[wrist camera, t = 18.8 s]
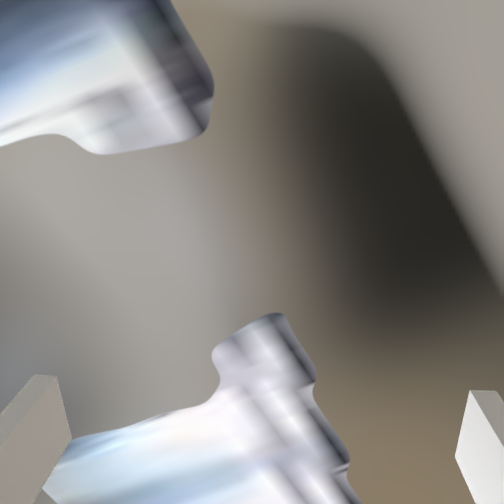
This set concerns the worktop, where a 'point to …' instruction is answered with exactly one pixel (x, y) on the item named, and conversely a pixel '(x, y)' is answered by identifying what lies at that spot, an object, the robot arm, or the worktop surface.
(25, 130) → the worktop surface
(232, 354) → the worktop surface
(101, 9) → the worktop surface
